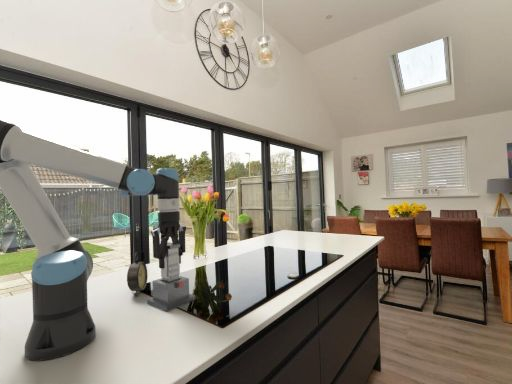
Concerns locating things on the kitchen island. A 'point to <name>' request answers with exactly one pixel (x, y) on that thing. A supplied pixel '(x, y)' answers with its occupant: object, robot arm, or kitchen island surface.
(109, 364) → the kitchen island surface
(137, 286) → the alarm clock
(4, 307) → the kitchen island surface
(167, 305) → the stand base
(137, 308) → the kitchen island surface
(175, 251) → the column
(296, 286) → the kitchen island surface
